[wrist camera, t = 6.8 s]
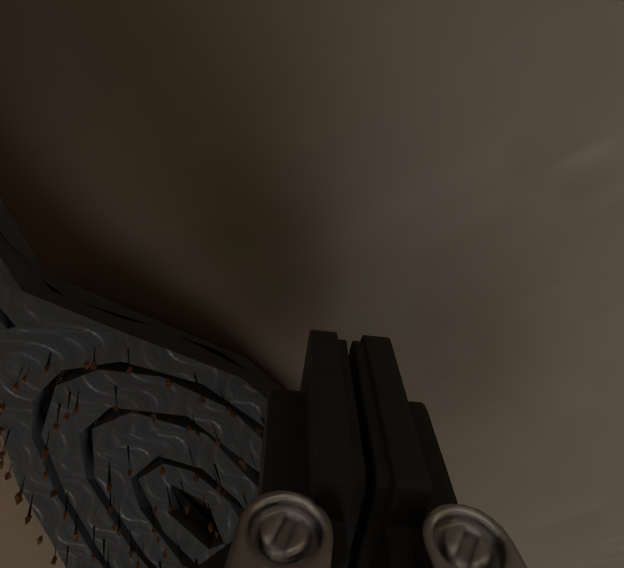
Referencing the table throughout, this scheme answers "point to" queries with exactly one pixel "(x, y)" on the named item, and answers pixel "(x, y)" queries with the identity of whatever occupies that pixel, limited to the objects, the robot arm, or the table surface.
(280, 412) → the robot arm
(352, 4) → the table surface
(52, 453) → the hairbrush
